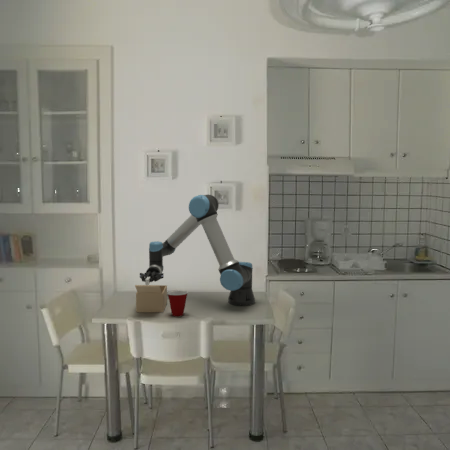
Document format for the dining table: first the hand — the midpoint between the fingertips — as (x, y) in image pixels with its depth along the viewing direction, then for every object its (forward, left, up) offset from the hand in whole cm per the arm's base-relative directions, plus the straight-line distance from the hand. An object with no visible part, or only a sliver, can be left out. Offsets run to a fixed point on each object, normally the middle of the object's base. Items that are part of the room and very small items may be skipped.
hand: (146, 282), depth 232 cm
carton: (+4, -17, -18) cm, 24 cm away
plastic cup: (-13, -7, -18) cm, 24 cm away
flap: (+2, -8, -7) cm, 11 cm away
